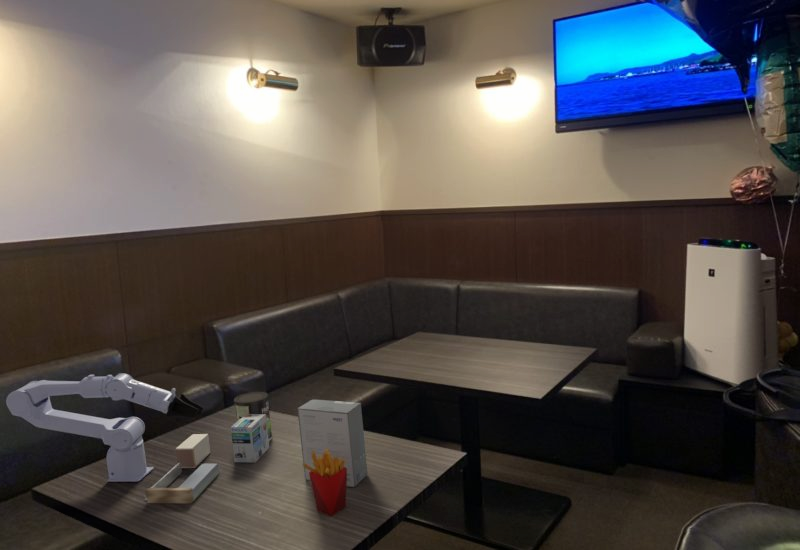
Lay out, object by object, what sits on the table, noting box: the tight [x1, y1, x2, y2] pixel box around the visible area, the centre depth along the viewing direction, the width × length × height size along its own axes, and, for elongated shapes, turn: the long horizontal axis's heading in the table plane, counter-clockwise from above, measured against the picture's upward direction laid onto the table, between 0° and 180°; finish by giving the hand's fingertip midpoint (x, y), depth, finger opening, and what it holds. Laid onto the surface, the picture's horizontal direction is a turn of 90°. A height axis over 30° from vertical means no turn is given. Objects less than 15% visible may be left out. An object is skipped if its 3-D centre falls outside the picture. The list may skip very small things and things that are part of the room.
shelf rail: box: [145, 487, 195, 504], centre depth 151 cm, size 12×1×4 cm, turn 82°
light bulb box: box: [230, 414, 270, 464], centre depth 175 cm, size 11×7×11 cm, turn 170°
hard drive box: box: [297, 399, 368, 488], centre depth 157 cm, size 16×8×20 cm, turn 65°
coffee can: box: [233, 391, 273, 442], centre depth 186 cm, size 10×10×14 cm
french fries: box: [301, 449, 348, 517], centre depth 140 cm, size 9×8×15 cm
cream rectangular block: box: [175, 433, 211, 469], centre depth 175 cm, size 5×10×6 cm, turn 172°
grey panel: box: [144, 462, 182, 502], centre depth 160 cm, size 2×15×3 cm, turn 172°
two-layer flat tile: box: [177, 463, 220, 501], centre depth 158 cm, size 5×15×3 cm, turn 172°
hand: (199, 412), depth 166 cm, fingers open, 7 cm apart
